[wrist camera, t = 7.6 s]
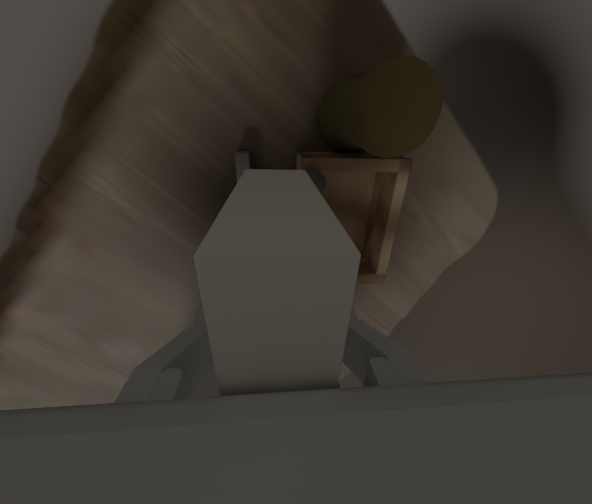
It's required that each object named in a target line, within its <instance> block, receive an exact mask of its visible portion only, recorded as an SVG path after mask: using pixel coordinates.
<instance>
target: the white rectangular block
mask: <svg viewBox="0 0 592 504" xmlns="http://www.w3.org/2000/svg"><path fill="white" fill-rule="evenodd" d="M360 258H361V254H360V252H359V251H358V249H357V248H356V246H355V245H354V243H353V242H352V240H351V239H350V237H349V236H348V234H347V233H346V231H345V229H344V228H343V226H342V225H341V223H340V222H339V220H338V219H337V217H336V216H335V214H334V213H333V211H332V210H331V208H330V207H329V205H328V204H327V202H326V201H325V199H324V198H323V196H322V195H321V193H320V192H319V190H318V189H317V187H316V186H315V184H314V183H313V181H312V180H311V178H310V177H309V175H308V174H307V172H306V171H305V170H270V169H245V171H244V172H243V174H242V176H241V177H240V179H239V181H238V182H237V184H236V186H235V187H234V189H233V191H232V192H231V194H230V196H229V197H228V199H227V201H226V203H225V204H224V206H223V208H222V209H221V211H220V213H219V214H218V216H217V218H216V219H215V221H214V223H213V224H212V226H211V228H210V229H209V231H208V233H207V234H206V236H205V238H204V239H203V241H202V243H201V244H200V246H199V248H198V249H197V251H196V253H195V254H194V256H193V259H194V264H195V269H196V275H197V280H198V285H199V290H200V295H201V300H202V305H203V310H204V316H205V321H206V326H207V331H208V336H209V341H210V346H211V351H212V357H213V362H214V367H215V372H216V377H217V382H218V387H219V393H220V396H229V395H244V394H260V393H275V392H290V391H306V390H321V389H336V388H339V382H338V381H339V376H340V370H341V365H342V359H343V353H344V348H345V342H346V336H347V331H348V325H349V320H350V314H351V308H352V303H353V297H354V291H355V286H356V280H357V275H358V269H359V263H360Z"/></svg>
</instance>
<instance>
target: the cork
mask: <svg viewBox="0 0 592 504" xmlns="http://www.w3.org/2000/svg"><path fill="white" fill-rule="evenodd" d="M442 102H443V99H442V87H441V84H440V81H439V79H438V77H437V74H436V72H435V71H434V70H433V69H432V68H431V67H430V66H429V65H428V64H427V62H425V61H422V60H420V59H417V58H415V57H394V58H392V59H390V60H387V61H385V62H383V63H381V64H379V65H377V66H376V67H375V68H374V69H373V70H371V71H370V72H369V73H368V74H367V75H366V76H365V77H359V78H346V79H344V80H342V81H339V82H337V83H336V84H334V85H333V86H332V87H331V88H330V89H329V90H328V91H327V93H326V95H325V96H324V98H323V100H322V101H321V105H320V109H319V113H318V114H319V127H320V131H321V134H322V136H323V137H324V139H325V140H326V142H327V143H328V144H329V145H331V146H332V147H333V148H335V149H338V150H341V151H354V150H360V149H364V150H365V151H366V152H368V153H369V154H371V155H375V156H378V157H382V158H393V157H399V156H402V155H404V154H406V153H409V152H411V151H413V150H414V149H416V148H417V147H418V146H419V145H421V144H422V143H423V142H424V141H425V140H426V138H427V137H428V136H429V135H430V133H431V132H432V131H433V129H434V127H435V125H436V123H437V120H438V118H439V116H440V112H441V107H442Z"/></svg>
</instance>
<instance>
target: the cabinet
mask: <svg viewBox="0 0 592 504" xmlns="http://www.w3.org/2000/svg"><path fill="white" fill-rule="evenodd" d="M411 164H412V159H408V158H404V157H400V156H399V157H393V158H382V157H378V156H375V155H371V154H369V153H366V152H312V151H296V170H305V171H306V172H307V174H308V175H309V177H310V178H311V180H312V181H313V183H314V184H315V186H316V187H317V189H318V190H319V192H320V193H321V195H322V196H323V198H324V199H325V201H326V202H327V204H328V205H329V207H330V208H331V210H332V211H333V213H334V214H335V216H336V217H337V219H338V220H339V222H340V223H341V225H342V226H343V228H344V229H345V231H346V233H347V234H348V236H349V237H350V239H351V240H352V242H353V243H354V245H355V246H356V248H357V249H358V251H359V252H360V254H361V258H360V263H359V269H358V275H357V280H356V283H375V282H384V280H385V276H386V272H387V267H388V263H389V259H390V254H391V250H392V246H393V241H394V237H395V233H396V229H397V224H398V220H399V216H400V211H401V207H402V203H403V198H404V194H405V190H406V186H407V181H408V177H409V173H410V168H411ZM235 165H236V176H237V182H238V181H239V179H240V177H241V176H242V174H243V172H244V171H245V169H252V163H251V150H238V151H236V152H235Z"/></svg>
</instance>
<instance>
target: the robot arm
mask: <svg viewBox="0 0 592 504" xmlns="http://www.w3.org/2000/svg"><path fill="white" fill-rule="evenodd" d="M342 361H343V363H344V364H345V365H346V366H347V367H348V368H349V369H350V370H351V371H352V372H353V373H354V375H355V376H356V377H357V378H358V379H359V380H360V381H361V382H362V384H363V387H352V388H336V389H321V390H306V391H290V392H275V393H260V394H244V395H229V396H220V393H219V387H218V382H217V377H216V372H215V367H214V362H213V357H212V351H211V346H210V341H209V336H208V331H207V326H206V321H205V316H204V310H203V305H201V307H200V310H199V312H198V315H197V317H196V320H195V322H194V325H193V327H188V328H187V329H186V330H184V331H183V332H182V333H181V334H179V335H178V336H177V337H175V338H174V339H173V340H171V341H170V342H169V343H167V344H166V345H165V346H163V347H162V348H161V349H159V350H158V351H157V352H156V353H154V354H153V355H152V356H150V357H149V358H148V359H146V360H145V361H144V362H142V363H141V364H140V365H138V366H137V367H136V368H134V369H133V371H132V373H131V375H130V376H129V378H128V380H127V382H126V383H125V385H124V387H123V388H122V390H121V392H120V394H119V395H118V397H117V399H116V401H115V402H114V403H107V404H92V405H76V406H61V407H46V408H30V409H15V410H0V504H592V372H583V373H567V374H552V375H537V376H521V377H506V378H490V379H477V380H476V379H475V380H459V381H444V382H429V383H428V382H427V380H426V378H425V377H424V375H423V373H422V371H421V370H420V368H419V366H418V365H417V363H416V361H415V360H414V358H413V356H412V355H411V354H410V353H409V352H407V351H406V350H404V349H403V348H401V347H400V346H398V345H397V344H395V343H394V342H393V341H391V340H390V339H388V338H387V337H386V336H384V335H383V334H381V333H380V332H378V331H377V330H376V329H374V328H373V327H371V326H370V325H368V324H367V323H366V322H364V321H363V320H358V318H357V315H356V313H355V311H354V309H353V306H352V308H351V314H350V320H349V325H348V331H347V336H346V342H345V348H344V353H343V359H342Z"/></svg>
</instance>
